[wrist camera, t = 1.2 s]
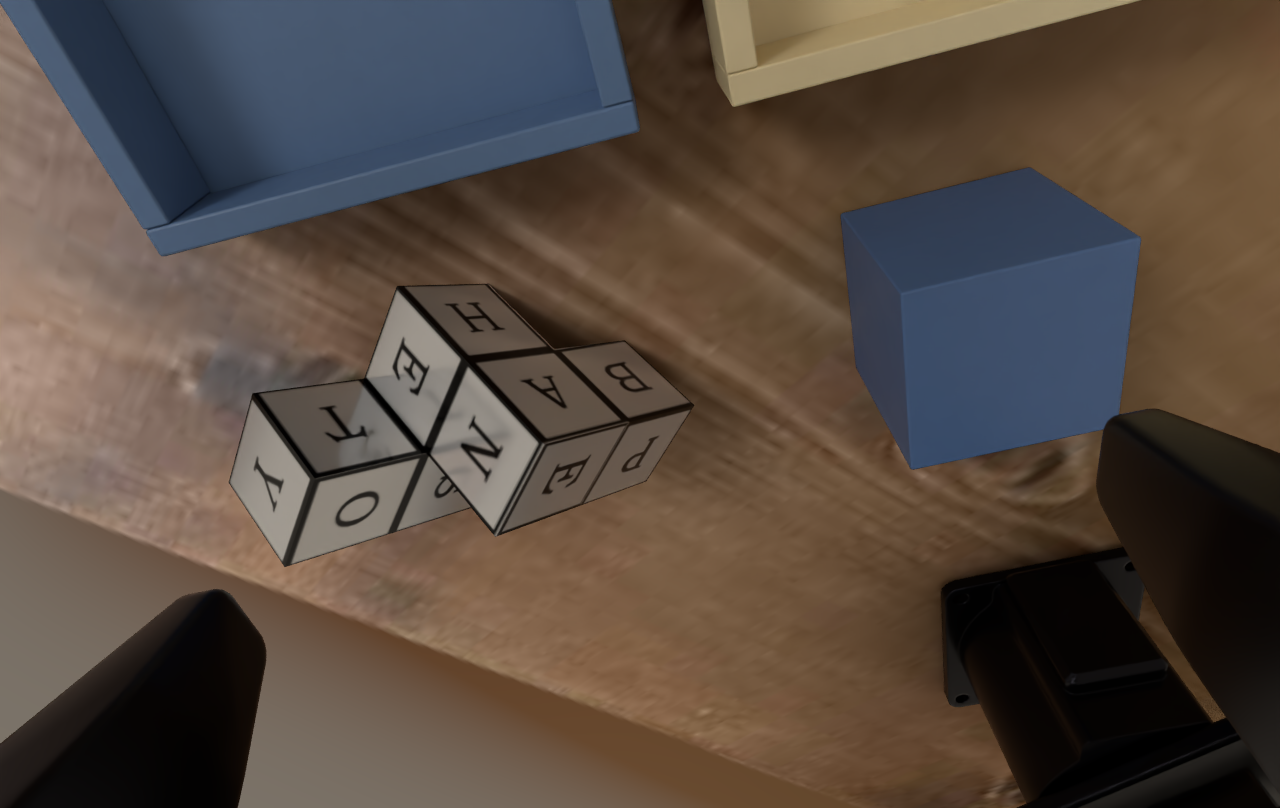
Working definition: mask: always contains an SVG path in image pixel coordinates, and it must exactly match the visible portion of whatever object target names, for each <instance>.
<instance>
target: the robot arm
mask: <svg viewBox="0 0 1280 808" xmlns="http://www.w3.org/2000/svg"><path fill="white" fill-rule="evenodd" d="M1096 487H1097V494H1098V498H1099V501H1100V504H1101V506H1102V508H1103V510H1104V512H1105V514H1106V516H1107V517H1108V519H1109V521H1110V523H1111V525H1112V527H1113V529H1114V530H1115V532H1116V534H1117V536H1118V538H1119V540H1120V542H1121V543H1122V545H1123V547H1122V548H1117V549H1112V550H1107V551H1102V552H1097V553H1092V554H1087V555H1081V556H1076V557H1071V558H1066V559H1061V560H1056V561H1051V562H1046V563H1041V564H1035V565H1030V566H1025V567H1020V568H1015V569H1010V570H1005V571H1000V572H995V573H990V574H984V575H979V576H974V577H969V578H964V579H959V580H955V581H952V582H949V583H948V584H946V585H945V586H944V587H943V588H942V591H941V612H942V639H943V667H944V692H945V695H946V697H947V699H948V702H949V704H950V705H952V706H954V707H964V706H969V705H975V704H980V705H981V707H982V709H983V711H984V714H985V716H986V718H987V720H988V722H989V724H990V726H991V729H992V731H993V733H994V735H995V737H996V739H997V741H998V744H999V746H1000V748H1001V750H1002V752H1003V754H1004V756H1005V758H1006V761H1007V763H1008V765H1009V767H1010V769H1011V771H1012V773H1013V776H1014V778H1015V780H1016V782H1017V784H1018V786H1019V788H1020V791H1021V793H1022V795H1023V797H1024V799H1025V801H1026V804H1024V805H1022V806H1019V807H1017V808H1280V453H1278V452H1276V451H1273V450H1270V449H1267V448H1265V447H1262V446H1259V445H1256V444H1254V443H1251V442H1248V441H1245V440H1243V439H1240V438H1237V437H1235V436H1232V435H1229V434H1226V433H1224V432H1221V431H1218V430H1215V429H1213V428H1210V427H1207V426H1204V425H1202V424H1199V423H1196V422H1194V421H1191V420H1188V419H1185V418H1183V417H1180V416H1177V415H1174V414H1172V413H1169V412H1166V411H1163V410H1160V409H1145V410H1140V411H1135V412H1129V413H1124V414H1119V415H1115V416H1113V417H1111V418H1110V419H1109V420H1108V421H1107V422H1106V424H1105V426H1104V430H1103V436H1102V443H1101V450H1100V458H1099V465H1098V472H1097V479H1096ZM1144 587H1145V588H1146V590H1147V592H1148V594H1149V595H1150V597H1151V599H1152V601H1153V603H1154V605H1155V607H1156V608H1157V610H1158V612H1159V614H1160V616H1161V618H1162V620H1163V621H1164V623H1165V625H1166V627H1167V628H1168V630H1169V632H1170V633H1171V635H1172V637H1173V639H1174V640H1175V642H1176V644H1177V645H1178V647H1179V648H1180V650H1181V652H1182V653H1183V655H1184V656H1185V658H1186V659H1187V661H1188V662H1189V664H1190V665H1191V667H1192V668H1193V670H1194V671H1195V673H1196V674H1197V676H1198V677H1199V678H1200V680H1201V681H1202V683H1203V684H1204V686H1205V687H1206V689H1207V690H1208V692H1209V693H1210V694H1211V696H1212V697H1213V699H1214V700H1215V702H1216V703H1217V705H1218V706H1219V707H1220V709H1221V710H1222V712H1223V713H1224V715H1225V716H1226V718H1223V719H1221V720H1219V721H1216V722H1213V721H1212V720H1211V718H1210V717H1209V716H1208V714H1207V713H1206V712H1205V710H1204V709H1203V708H1202V706H1201V705H1200V703H1199V702H1198V701H1197V699H1196V698H1195V697H1194V695H1193V694H1192V693H1191V691H1190V690H1189V689H1188V687H1187V686H1186V685H1185V683H1184V682H1183V681H1182V679H1181V678H1180V676H1179V675H1178V674H1177V672H1176V671H1175V670H1174V668H1173V667H1172V666H1171V664H1170V663H1169V662H1168V660H1167V659H1166V658H1165V656H1164V655H1163V653H1162V652H1161V651H1160V649H1159V648H1158V647H1157V645H1156V644H1155V643H1154V641H1153V640H1152V639H1151V637H1150V636H1149V635H1148V633H1147V632H1146V631H1145V629H1144V628H1143V626H1142V625H1141V624H1140V622H1139V615H1140V609H1141V604H1142V598H1143V592H1144ZM265 665H266V647H265V643H264V640H263V637H262V636H261V634H260V633H259V631H258V630H257V629H256V627H255V626H254V625H253V623H252V622H251V621H250V620H249V618H248V617H247V615H246V614H245V613H244V611H243V610H242V609H241V607H240V606H239V605H238V603H237V602H236V600H235V599H234V598H233V597H232V596H231V595H230V594H229V593H228V592H226V591H224V590H220V589H213V590H208V591H202V592H198V593H192V594H188V595H185V596H182V597H180V598H179V599H177V600H176V601H175V602H173V603H172V604H171V605H170V606H168V607H167V608H166V609H165V610H163V612H161V613H160V614H159V615H157V616H156V617H155V618H154V619H153V620H151V621H150V622H149V623H148V624H146V625H145V626H144V627H143V628H141V629H140V630H139V631H138V632H137V633H135V634H134V635H133V636H132V637H130V638H129V639H128V640H127V641H126V642H124V643H123V644H122V645H121V646H119V647H118V648H117V649H116V650H115V651H113V652H112V653H111V654H110V655H108V656H107V657H106V658H105V659H103V660H102V661H101V662H100V663H99V664H97V665H96V666H95V667H94V668H92V669H91V670H90V671H89V672H88V673H86V674H85V675H84V676H83V677H81V678H80V679H79V680H78V681H76V682H75V683H74V684H73V685H72V686H70V687H69V688H68V689H67V690H65V691H64V692H63V693H62V694H60V695H59V696H58V697H57V698H56V699H54V700H53V701H52V702H51V703H49V704H48V705H47V706H46V707H45V708H43V709H42V710H41V711H40V712H38V713H37V714H36V715H35V716H34V717H32V718H31V719H30V720H29V721H27V722H26V723H25V724H24V725H23V726H21V727H20V728H19V729H18V730H16V731H15V732H14V733H13V734H11V735H10V736H9V737H8V738H7V739H5V740H4V741H3V742H2V743H0V808H238V803H239V800H240V795H241V790H242V786H243V781H244V777H245V771H246V766H247V761H248V755H249V750H250V745H251V739H252V734H253V728H254V723H255V718H256V713H257V707H258V702H259V696H260V691H261V686H262V681H263V675H264V670H265Z"/></svg>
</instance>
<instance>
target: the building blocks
mask: <svg viewBox="0 0 1280 808" xmlns="http://www.w3.org/2000/svg"><path fill="white" fill-rule="evenodd" d="M693 407H694V404H692V403H691V402H690V401H689V400H688V399H687V398H686V397H685V396H684V395H683V394H682V393H681V392H680V391H678V390H677V389H676V388H675V387H674V386H673V385H672V384H671V383H670V382H669V381H668V380H667V379H666V378H664V377H663V376H662V375H661V374H660V373H659V372H658V371H657V370H656V369H655V368H654V367H653V366H651V365H650V364H649V363H648V362H647V361H646V360H645V359H644V358H643V357H642V356H641V355H640V354H639V353H637V352H636V351H635V350H634V349H633V348H632V347H631V346H630V345H629V344H628V343H627V342H626V341H625V340H624V341H616V342H608V343H600V344H592V345H584V346H575V347H567V348H559V349H554V348H553V347H552V346H551V345H550V344H549V343H548V342H547V341H546V340H545V339H544V338H543V337H542V336H541V335H540V334H539V333H538V332H537V331H535V330H534V329H533V328H532V327H531V326H530V325H529V324H528V323H527V322H526V321H525V320H524V319H523V318H522V317H521V316H520V315H519V314H518V313H517V312H516V311H515V310H514V309H513V308H512V307H511V306H510V305H509V304H508V303H507V302H506V301H505V300H504V299H503V298H502V297H501V296H500V295H499V294H498V293H497V292H496V291H495V290H494V289H493V288H492V287H491V286H490V285H489V284H460V285H418V286H397V288H396V291H395V293H394V296H393V299H392V302H391V305H390V308H389V310H388V313H387V316H386V319H385V322H384V324H383V327H382V330H381V333H380V336H379V339H378V341H377V344H376V347H375V350H374V353H373V356H372V358H371V361H370V364H369V367H368V370H367V373H366V375H365V378H364V379H359V380H351V381H344V382H336V383H328V384H321V385H313V386H305V387H297V388H290V389H282V390H274V391H267V392H259V393H253V394H252V397H251V401H250V405H249V409H248V412H247V416H246V420H245V424H244V427H243V431H242V435H241V439H240V442H239V446H238V450H237V454H236V457H235V461H234V465H233V469H232V472H231V476H230V480H229V484H230V485H231V487H232V488H233V490H234V491H235V493H236V494H237V496H238V497H239V499H240V500H241V502H242V503H243V505H244V506H245V508H246V509H247V511H248V512H249V514H250V515H251V517H252V518H253V520H254V521H255V523H256V524H257V526H258V528H259V529H260V531H261V532H262V534H263V535H264V537H265V538H266V540H267V541H268V543H269V544H270V546H271V547H272V549H273V550H274V552H275V553H276V555H277V556H278V558H279V559H280V561H281V562H282V564H283V565H284V567H287V566H290V565H293V564H296V563H299V562H302V561H305V560H309V559H312V558H315V557H318V556H321V555H324V554H327V553H331V552H334V551H337V550H340V549H343V548H346V547H349V546H353V545H356V544H359V543H362V542H365V541H368V540H371V539H375V538H378V537H381V536H384V535H387V534H390V533H394V532H397V531H400V530H403V529H406V528H409V527H412V526H416V525H419V524H422V523H425V522H428V521H431V520H434V519H438V518H441V517H444V516H447V515H450V514H453V513H456V512H460V511H463V510H466V509H469V508H472V509H473V510H474V511H475V513H476V514H477V515H478V516H479V518H480V519H481V520H482V521H483V522H484V524H485V525H486V526H487V527H488V528H489V530H490V531H491V532H492V533H493V534H494V536H495V537H496V536H499V535H501V534H504V533H507V532H510V531H512V530H515V529H518V528H520V527H523V526H526V525H529V524H531V523H534V522H537V521H540V520H542V519H545V518H548V517H550V516H553V515H556V514H559V513H561V512H564V511H567V510H569V509H572V508H575V507H578V506H580V505H583V504H586V503H588V502H591V501H594V500H597V499H599V498H602V497H605V496H608V495H610V494H613V493H616V492H618V491H621V490H624V489H627V488H629V487H632V486H635V485H637V484H640V483H643V482H646V481H647V479H648V478H649V476H650V475H651V473H652V472H653V470H654V468H655V467H656V465H657V464H658V462H659V461H660V459H661V457H662V456H663V454H664V453H665V451H666V449H667V448H668V446H669V445H670V443H671V442H672V440H673V438H674V437H675V435H676V434H677V432H678V431H679V429H680V427H681V426H682V424H683V423H684V421H685V419H686V418H687V416H688V415H689V413H690V412H691V410H692V408H693Z"/></svg>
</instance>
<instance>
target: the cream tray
mask: <svg viewBox="0 0 1280 808" xmlns="http://www.w3.org/2000/svg"><path fill="white" fill-rule="evenodd" d="M1137 1H1140V0H702V2H703V8H704V14H705V19H706V25H707V31H708V36H709V42H710V48H711V53H712V59H713V64H714V70H715V76H716V80H717V82H718V83H719V85H720V87H721V88H722V90H723V92H724V93H725V95H726V96H727V98H728V100H729V101H730V103H731V104H732V106H733V107H737V106H740V105H744V104H748V103H752V102H756V101H759V100H763V99H767V98H771V97H775V96H778V95H782V94H786V93H790V92H794V91H798V90H801V89H805V88H809V87H813V86H817V85H820V84H824V83H828V82H832V81H836V80H839V79H843V78H847V77H851V76H855V75H859V74H862V73H866V72H870V71H874V70H878V69H881V68H885V67H889V66H893V65H897V64H900V63H904V62H908V61H912V60H916V59H919V58H923V57H927V56H931V55H935V54H939V53H942V52H946V51H950V50H954V49H958V48H961V47H965V46H969V45H973V44H977V43H980V42H984V41H988V40H992V39H996V38H999V37H1003V36H1007V35H1011V34H1015V33H1019V32H1022V31H1026V30H1030V29H1034V28H1038V27H1041V26H1045V25H1049V24H1053V23H1057V22H1060V21H1064V20H1068V19H1072V18H1076V17H1080V16H1083V15H1087V14H1091V13H1095V12H1099V11H1102V10H1106V9H1110V8H1114V7H1118V6H1121V5H1125V4H1129V3H1133V2H1137Z"/></svg>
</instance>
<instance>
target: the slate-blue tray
mask: <svg viewBox="0 0 1280 808" xmlns="http://www.w3.org/2000/svg"><path fill="white" fill-rule="evenodd" d="M0 4H1V5H2V7H3V8H4V10H5V12H6V13H7V15H8V16H9V18H10V19H11V21H12V23H13V24H14V26H15V27H16V29H17V30H18V32H19V34H20V35H21V37H22V38H23V40H24V42H25V43H26V45H27V46H28V48H29V49H30V51H31V53H32V54H33V56H34V57H35V59H36V60H37V62H38V64H39V65H40V67H41V68H42V70H43V72H44V73H45V75H46V76H47V78H48V79H49V81H50V83H51V84H52V86H53V87H54V89H55V90H56V92H57V94H58V95H59V97H60V98H61V100H62V101H63V103H64V105H65V106H66V108H67V109H68V111H69V113H70V114H71V116H72V117H73V119H74V120H75V122H76V124H77V125H78V127H79V128H80V130H81V131H82V133H83V135H84V136H85V138H86V139H87V141H88V142H89V144H90V146H91V147H92V149H93V150H94V152H95V154H96V155H97V157H98V158H99V160H100V161H101V163H102V165H103V166H104V168H105V169H106V171H107V172H108V174H109V176H110V177H111V179H112V180H113V182H114V183H115V185H116V187H117V188H118V190H119V191H120V193H121V195H122V196H123V198H124V199H125V201H126V202H127V204H128V206H129V207H130V209H131V210H132V212H133V213H134V215H135V217H136V218H137V220H138V221H139V223H140V225H141V226H142V228H143V229H148V230H147V231H146V233H147V235H148V237H149V238H150V240H151V242H152V243H153V245H154V246H155V248H156V249H157V251H158V253H159V254H160V255H161V256H168V255H171V254H175V253H179V252H183V251H187V250H191V249H194V248H198V247H202V246H206V245H210V244H213V243H217V242H221V241H225V240H229V239H232V238H236V237H240V236H244V235H248V234H251V233H255V232H259V231H263V230H267V229H271V228H274V227H278V226H282V225H286V224H290V223H293V222H297V221H301V220H305V219H309V218H312V217H316V216H320V215H324V214H328V213H331V212H335V211H339V210H343V209H347V208H351V207H354V206H358V205H362V204H366V203H370V202H373V201H377V200H381V199H385V198H389V197H392V196H396V195H400V194H404V193H408V192H411V191H415V190H419V189H423V188H427V187H431V186H434V185H438V184H442V183H446V182H450V181H453V180H457V179H461V178H465V177H469V176H472V175H476V174H480V173H484V172H488V171H491V170H495V169H499V168H503V167H507V166H511V165H514V164H518V163H522V162H526V161H530V160H533V159H537V158H541V157H545V156H549V155H552V154H556V153H560V152H564V151H568V150H571V149H575V148H579V147H583V146H587V145H591V144H594V143H598V142H602V141H606V140H610V139H613V138H617V137H621V136H625V135H629V134H632V133H636V132H638V131H639V130H640V125H639V119H638V113H637V106H636V100H635V96H634V92H633V88H632V83H631V79H630V75H629V71H628V66H627V62H626V58H625V54H624V49H623V45H622V41H621V37H620V33H619V28H618V24H617V20H616V16H615V11H614V7H613V3H612V0H0Z"/></svg>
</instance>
